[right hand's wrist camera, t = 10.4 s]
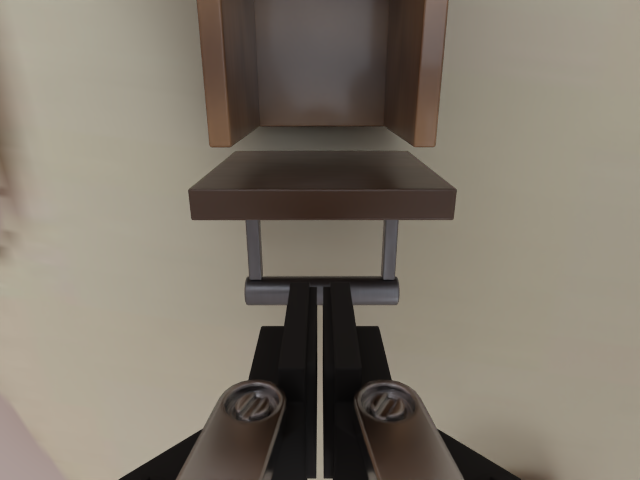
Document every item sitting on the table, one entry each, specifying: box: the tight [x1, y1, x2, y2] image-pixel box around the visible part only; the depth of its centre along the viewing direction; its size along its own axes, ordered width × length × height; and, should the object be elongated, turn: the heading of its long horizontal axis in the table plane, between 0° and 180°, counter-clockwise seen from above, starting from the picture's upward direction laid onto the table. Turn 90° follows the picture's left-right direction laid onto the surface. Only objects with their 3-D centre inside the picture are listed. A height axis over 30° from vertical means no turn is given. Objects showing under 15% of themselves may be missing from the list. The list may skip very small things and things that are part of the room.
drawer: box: [188, 0, 457, 305], centre depth 18 cm, size 24×10×9 cm, turn 0°
